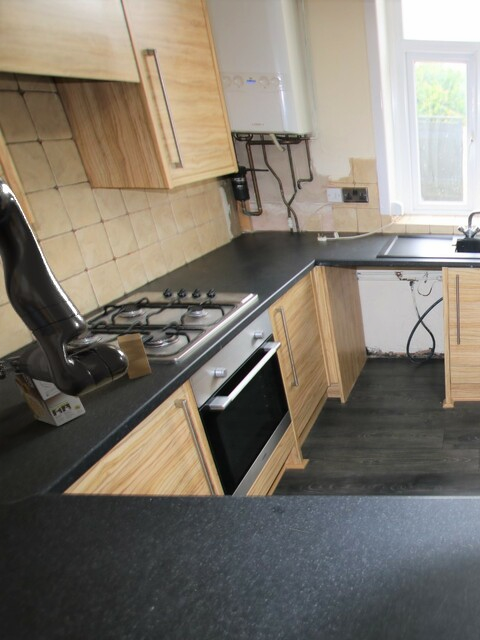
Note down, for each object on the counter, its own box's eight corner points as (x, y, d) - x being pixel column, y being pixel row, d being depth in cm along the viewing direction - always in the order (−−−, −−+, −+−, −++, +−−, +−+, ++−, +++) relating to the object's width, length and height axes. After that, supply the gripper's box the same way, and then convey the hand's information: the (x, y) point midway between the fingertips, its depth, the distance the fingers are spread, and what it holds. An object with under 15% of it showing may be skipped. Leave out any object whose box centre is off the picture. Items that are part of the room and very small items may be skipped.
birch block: (130, 382, 130) (117, 342, 125) (129, 375, 134) (117, 336, 129) (153, 377, 133) (141, 338, 128) (151, 371, 137) (139, 332, 132)
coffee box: (87, 412, 115) (59, 354, 108) (57, 427, 110) (25, 367, 103) (63, 405, 118) (34, 348, 111) (33, 419, 113) (0, 360, 105)
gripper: (90, 333, 97) (59, 331, 104) (-5, 357, 85) (-33, 353, 93) (104, 367, 99) (72, 363, 107) (13, 395, 87) (-16, 388, 95)
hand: (23, 358), depth 100 cm, fingers open, 8 cm apart
